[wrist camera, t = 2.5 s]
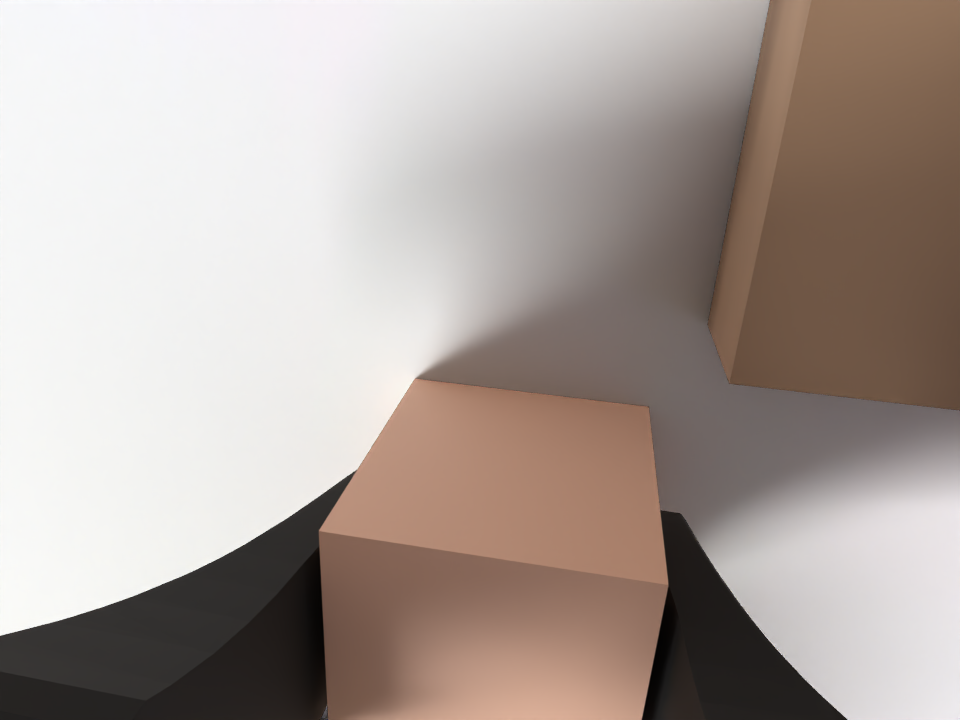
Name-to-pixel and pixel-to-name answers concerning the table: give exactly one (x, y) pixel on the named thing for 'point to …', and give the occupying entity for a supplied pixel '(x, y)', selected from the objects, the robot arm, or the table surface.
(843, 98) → the walnut base
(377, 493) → the terracotta block
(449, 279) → the table surface
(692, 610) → the robot arm
